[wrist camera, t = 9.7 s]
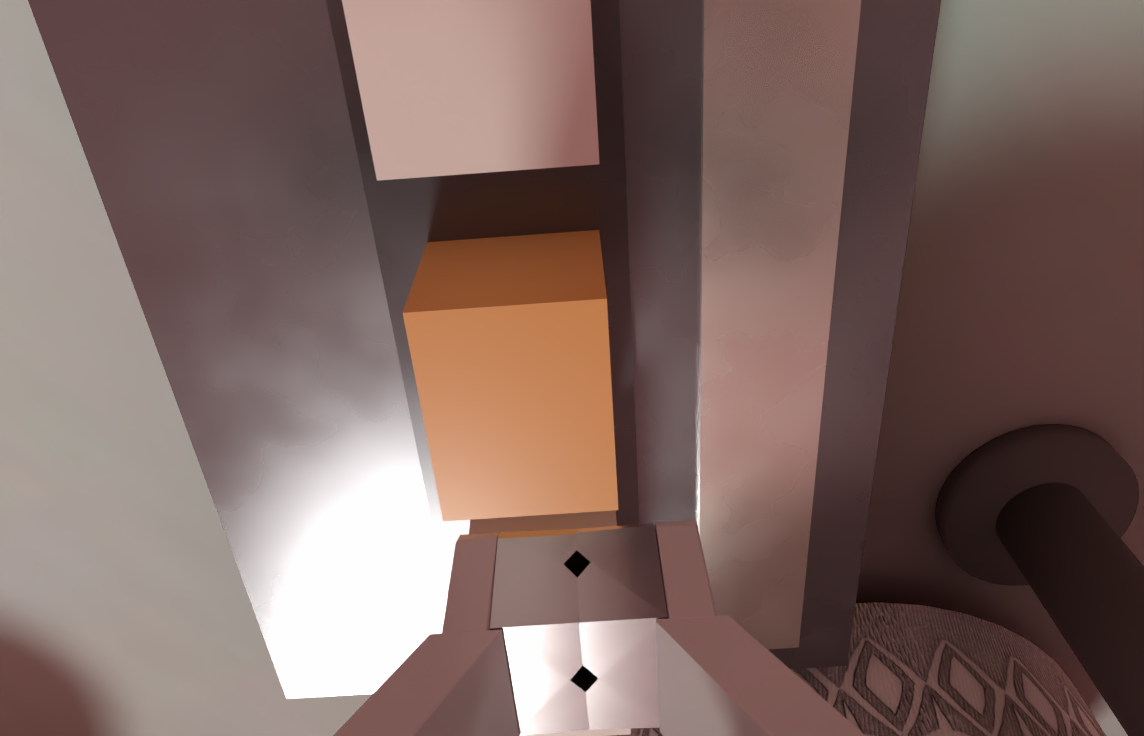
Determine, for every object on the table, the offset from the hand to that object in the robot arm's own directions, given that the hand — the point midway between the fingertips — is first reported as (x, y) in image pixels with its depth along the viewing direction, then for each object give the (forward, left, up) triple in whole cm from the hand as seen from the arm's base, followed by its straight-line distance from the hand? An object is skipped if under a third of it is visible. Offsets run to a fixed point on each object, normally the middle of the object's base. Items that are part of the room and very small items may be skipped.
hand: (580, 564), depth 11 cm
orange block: (+1, 0, -6) cm, 6 cm away
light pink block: (+1, -6, -6) cm, 9 cm away
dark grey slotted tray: (+1, 0, -10) cm, 10 cm away
